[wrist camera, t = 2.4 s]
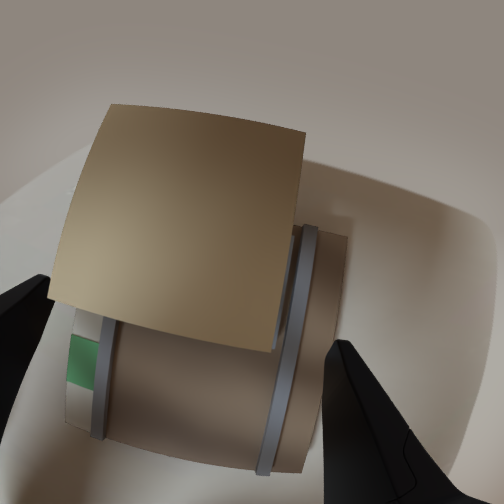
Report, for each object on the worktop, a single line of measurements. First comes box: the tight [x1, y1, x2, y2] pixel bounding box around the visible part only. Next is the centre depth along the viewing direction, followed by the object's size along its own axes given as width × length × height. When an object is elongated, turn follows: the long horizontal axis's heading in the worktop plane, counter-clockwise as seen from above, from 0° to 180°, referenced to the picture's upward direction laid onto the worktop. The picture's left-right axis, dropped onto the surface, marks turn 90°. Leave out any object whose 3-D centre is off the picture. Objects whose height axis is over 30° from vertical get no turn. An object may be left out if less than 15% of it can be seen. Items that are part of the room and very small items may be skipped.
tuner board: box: [65, 224, 348, 476], centre depth 16 cm, size 15×15×2 cm
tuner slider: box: [47, 104, 306, 353], centre depth 11 cm, size 6×12×12 cm, turn 79°
